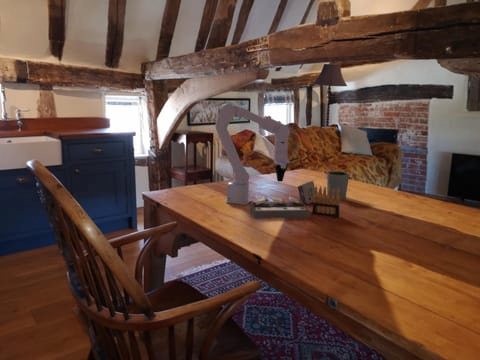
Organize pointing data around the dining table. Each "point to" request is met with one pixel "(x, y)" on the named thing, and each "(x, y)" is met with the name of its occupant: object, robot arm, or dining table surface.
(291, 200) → the rocker right
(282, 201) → the rocker middle
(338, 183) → the grey cup
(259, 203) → the rocker left
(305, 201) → the electrical switch
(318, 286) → the dining table surface
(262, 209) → the switch panel
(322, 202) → the ammunition clip
